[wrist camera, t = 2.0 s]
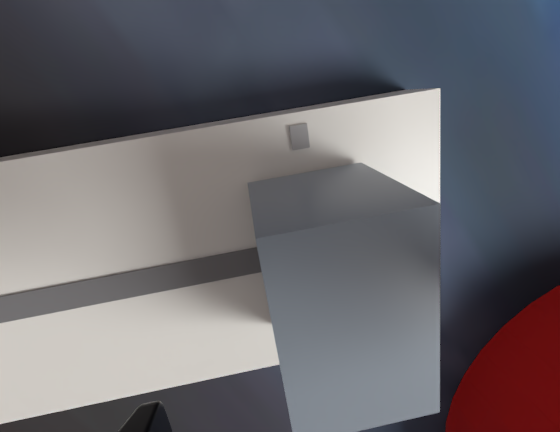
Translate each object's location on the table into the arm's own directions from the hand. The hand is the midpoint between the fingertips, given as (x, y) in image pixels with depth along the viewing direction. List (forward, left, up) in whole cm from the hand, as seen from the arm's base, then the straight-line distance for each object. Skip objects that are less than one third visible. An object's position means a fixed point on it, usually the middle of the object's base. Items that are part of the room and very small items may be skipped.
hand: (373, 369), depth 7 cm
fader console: (0, +8, -9) cm, 12 cm away
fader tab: (0, 0, -6) cm, 6 cm away
